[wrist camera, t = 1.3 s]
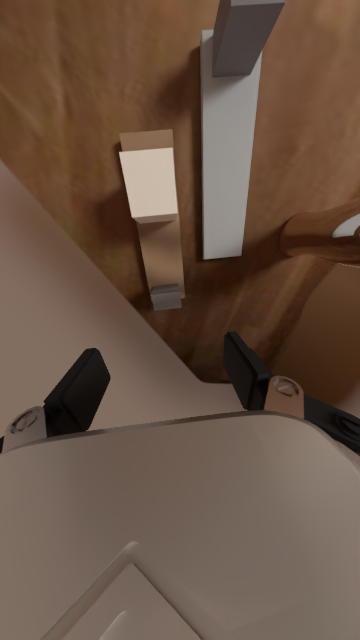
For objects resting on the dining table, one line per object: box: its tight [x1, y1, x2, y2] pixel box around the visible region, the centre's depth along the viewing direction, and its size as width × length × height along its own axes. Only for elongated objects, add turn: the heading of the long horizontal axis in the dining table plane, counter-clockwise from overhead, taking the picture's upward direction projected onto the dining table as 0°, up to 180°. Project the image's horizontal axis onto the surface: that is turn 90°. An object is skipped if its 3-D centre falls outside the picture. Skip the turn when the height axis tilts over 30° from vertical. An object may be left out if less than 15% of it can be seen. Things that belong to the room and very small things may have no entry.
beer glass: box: [279, 197, 360, 267], centre depth 17 cm, size 7×7×15 cm
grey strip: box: [200, 0, 285, 259], centre depth 16 cm, size 20×6×6 cm, turn 5°
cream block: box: [119, 148, 178, 224], centre depth 17 cm, size 5×5×5 cm
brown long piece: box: [119, 129, 185, 311], centre depth 19 cm, size 20×6×6 cm, turn 5°
